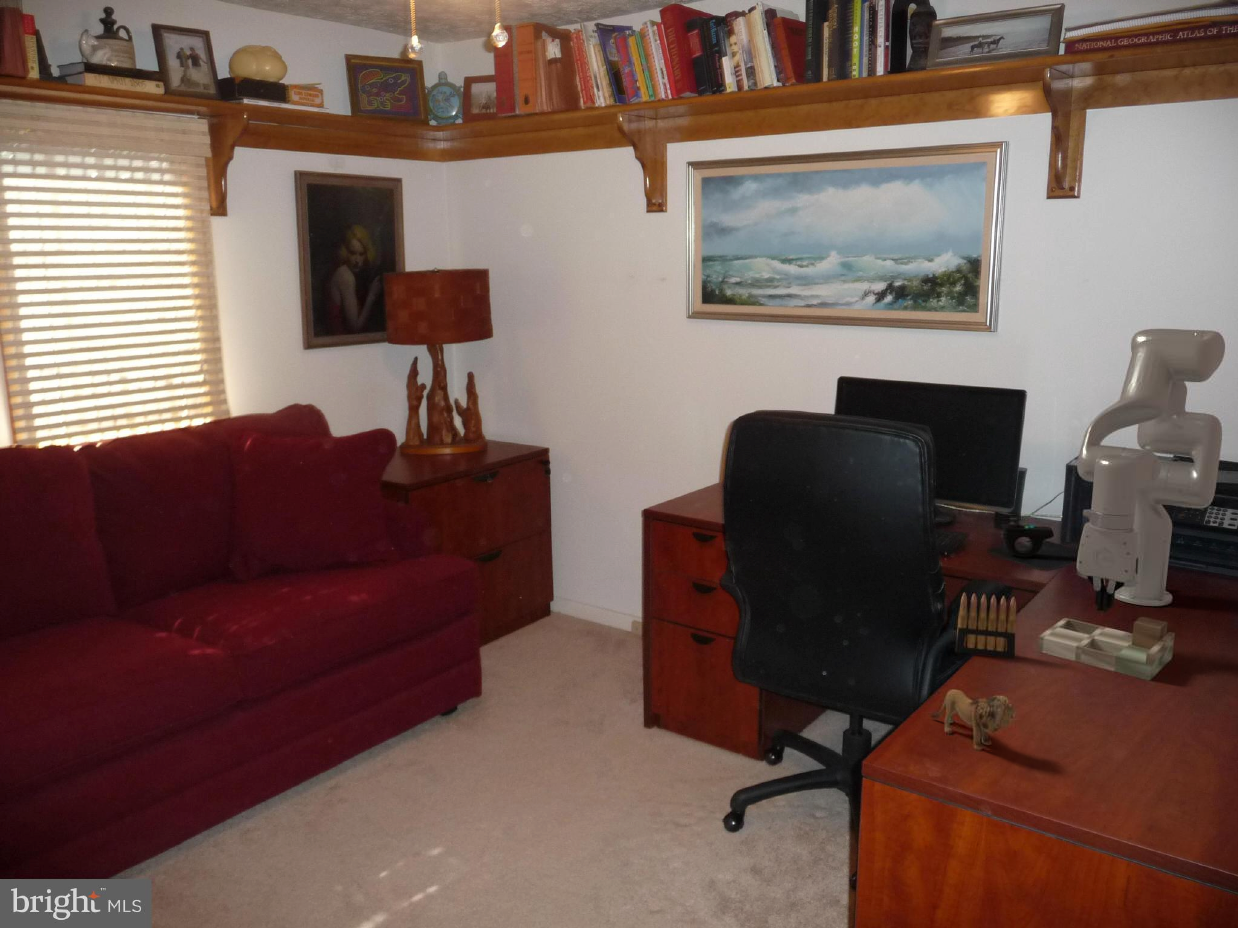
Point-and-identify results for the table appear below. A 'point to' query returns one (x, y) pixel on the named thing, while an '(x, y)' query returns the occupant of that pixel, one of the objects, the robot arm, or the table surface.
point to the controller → (1017, 531)
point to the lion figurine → (978, 714)
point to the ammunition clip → (986, 628)
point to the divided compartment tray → (1105, 648)
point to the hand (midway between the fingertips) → (1103, 609)
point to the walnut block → (1148, 632)
